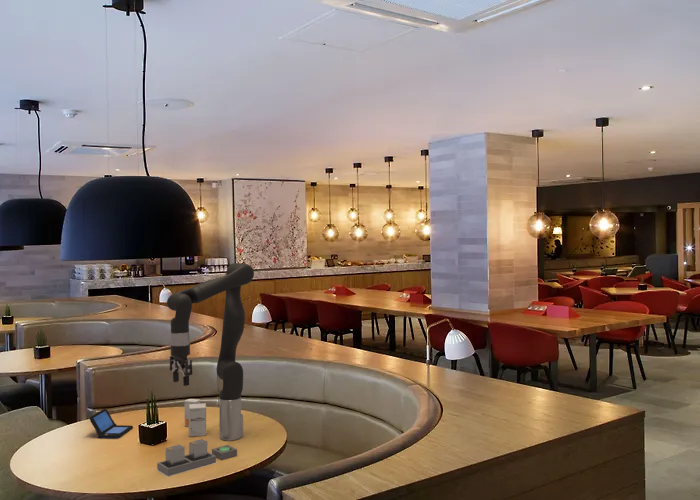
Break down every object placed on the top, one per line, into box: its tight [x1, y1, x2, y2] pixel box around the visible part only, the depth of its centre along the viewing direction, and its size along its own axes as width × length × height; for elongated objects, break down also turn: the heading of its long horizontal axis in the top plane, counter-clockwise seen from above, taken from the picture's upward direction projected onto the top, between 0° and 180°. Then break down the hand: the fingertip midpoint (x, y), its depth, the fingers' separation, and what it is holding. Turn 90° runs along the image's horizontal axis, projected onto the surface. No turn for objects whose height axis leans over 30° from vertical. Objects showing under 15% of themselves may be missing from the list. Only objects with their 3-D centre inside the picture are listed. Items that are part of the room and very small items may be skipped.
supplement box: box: [188, 402, 207, 438], centre depth 267 cm, size 7×7×13 cm
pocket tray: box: [155, 451, 219, 478], centre depth 227 cm, size 20×10×4 cm, turn 133°
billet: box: [165, 444, 186, 468], centre depth 224 cm, size 6×4×8 cm
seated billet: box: [188, 438, 208, 462], centre depth 230 cm, size 6×4×8 cm
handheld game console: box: [89, 408, 134, 440], centre depth 269 cm, size 16×13×9 cm
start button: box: [219, 446, 230, 452], centre depth 238 cm, size 4×4×2 cm
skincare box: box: [184, 398, 201, 428], centre depth 279 cm, size 6×4×12 cm
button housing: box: [211, 444, 238, 461], centre depth 238 cm, size 7×7×4 cm
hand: (181, 383), depth 244 cm, fingers open, 8 cm apart
